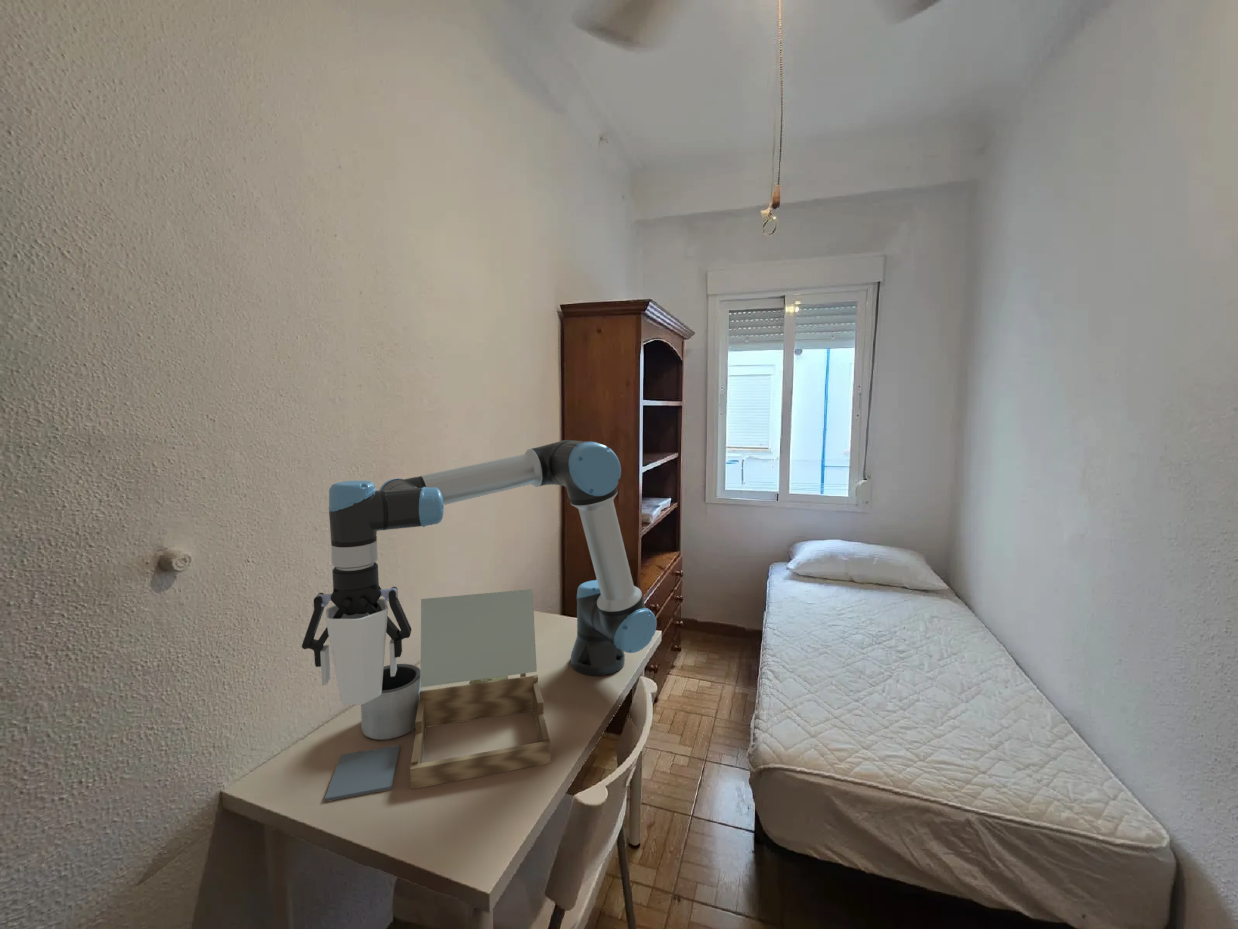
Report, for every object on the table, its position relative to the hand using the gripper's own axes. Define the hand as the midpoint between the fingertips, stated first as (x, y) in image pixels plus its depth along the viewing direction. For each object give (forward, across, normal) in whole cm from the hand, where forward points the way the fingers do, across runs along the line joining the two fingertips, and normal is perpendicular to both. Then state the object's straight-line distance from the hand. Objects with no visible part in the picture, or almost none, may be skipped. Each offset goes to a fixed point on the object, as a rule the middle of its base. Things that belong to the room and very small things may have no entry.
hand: (360, 677), depth 95 cm
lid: (+2, -22, -16) cm, 27 cm away
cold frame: (+20, -22, -5) cm, 30 cm away
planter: (+20, -3, -15) cm, 25 cm away
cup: (+4, 0, 0) cm, 4 cm away
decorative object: (+20, -24, -20) cm, 37 cm away
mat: (+20, 0, 0) cm, 20 cm away
